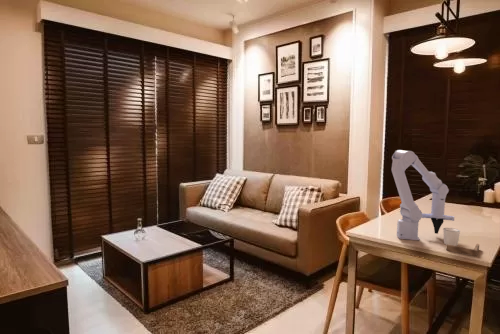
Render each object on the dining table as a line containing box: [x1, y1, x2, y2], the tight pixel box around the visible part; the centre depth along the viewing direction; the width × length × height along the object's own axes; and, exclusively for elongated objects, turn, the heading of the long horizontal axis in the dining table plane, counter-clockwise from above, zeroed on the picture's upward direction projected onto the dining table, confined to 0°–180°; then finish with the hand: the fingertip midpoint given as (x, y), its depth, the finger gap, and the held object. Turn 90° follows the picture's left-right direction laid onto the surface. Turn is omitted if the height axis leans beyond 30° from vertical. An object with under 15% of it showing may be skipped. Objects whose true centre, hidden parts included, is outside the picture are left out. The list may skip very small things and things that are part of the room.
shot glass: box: [442, 227, 461, 246], centre depth 159 cm, size 7×7×7 cm
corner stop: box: [446, 243, 480, 257], centre depth 147 cm, size 9×16×2 cm, turn 95°
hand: (436, 233), depth 170 cm, fingers closed
